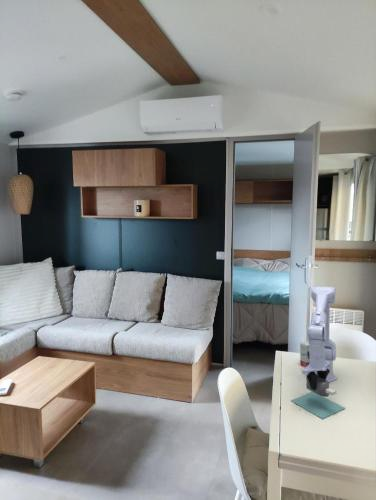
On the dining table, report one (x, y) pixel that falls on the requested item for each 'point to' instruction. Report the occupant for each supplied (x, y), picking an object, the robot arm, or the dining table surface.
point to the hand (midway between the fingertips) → (317, 387)
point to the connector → (321, 387)
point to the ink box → (304, 354)
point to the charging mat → (318, 405)
